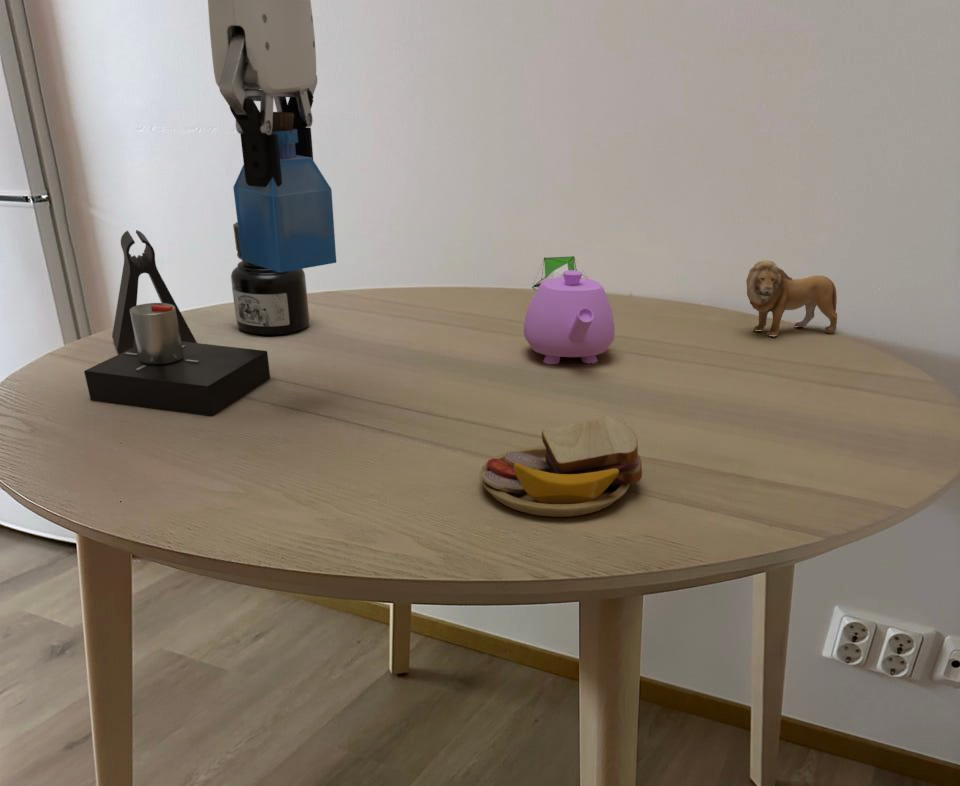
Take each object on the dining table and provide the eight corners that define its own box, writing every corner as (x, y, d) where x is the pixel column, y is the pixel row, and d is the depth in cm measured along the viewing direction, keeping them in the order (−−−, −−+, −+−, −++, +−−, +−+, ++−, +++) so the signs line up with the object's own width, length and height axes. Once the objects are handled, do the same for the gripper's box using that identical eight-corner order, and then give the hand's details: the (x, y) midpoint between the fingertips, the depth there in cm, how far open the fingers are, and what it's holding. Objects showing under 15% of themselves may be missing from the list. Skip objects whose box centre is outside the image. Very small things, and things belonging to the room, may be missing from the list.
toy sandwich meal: (477, 458, 82) (478, 407, 80) (628, 459, 83) (633, 408, 80) (480, 522, 72) (481, 465, 69) (652, 522, 72) (659, 466, 70)
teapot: (598, 338, 114) (605, 258, 109) (627, 377, 102) (636, 289, 96) (515, 339, 113) (518, 258, 108) (534, 379, 101) (538, 290, 95)
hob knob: (130, 362, 94) (119, 308, 91) (155, 349, 98) (145, 298, 95) (168, 366, 93) (158, 312, 90) (191, 354, 97) (183, 301, 94)
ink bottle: (220, 328, 115) (205, 225, 108) (269, 313, 121) (257, 214, 115) (279, 341, 111) (267, 234, 104) (326, 324, 117) (318, 222, 111)
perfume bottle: (297, 251, 89) (285, 109, 83) (336, 262, 86) (326, 114, 79) (242, 260, 86) (224, 112, 79) (280, 272, 82) (264, 118, 75)
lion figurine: (752, 344, 113) (766, 266, 108) (727, 332, 117) (739, 257, 112) (848, 332, 117) (866, 257, 112) (820, 321, 121) (836, 248, 116)
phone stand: (189, 332, 114) (172, 227, 107) (197, 346, 109) (180, 237, 102) (112, 340, 111) (90, 232, 104) (117, 354, 106) (94, 242, 99)
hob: (90, 400, 94) (83, 369, 92) (157, 365, 103) (152, 336, 101) (212, 416, 90) (207, 384, 89) (270, 378, 100) (267, 349, 98)
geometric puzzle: (524, 283, 128) (536, 241, 120) (571, 281, 129) (586, 239, 122) (535, 326, 125) (548, 286, 118) (582, 323, 127) (598, 283, 119)
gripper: (266, -68, 79) (288, 167, 90) (150, -86, 66) (191, 193, 76) (346, -68, 78) (359, 171, 88) (244, -87, 64) (273, 198, 74)
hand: (281, 179), depth 82 cm, fingers closed on perfume bottle, 5 cm apart
